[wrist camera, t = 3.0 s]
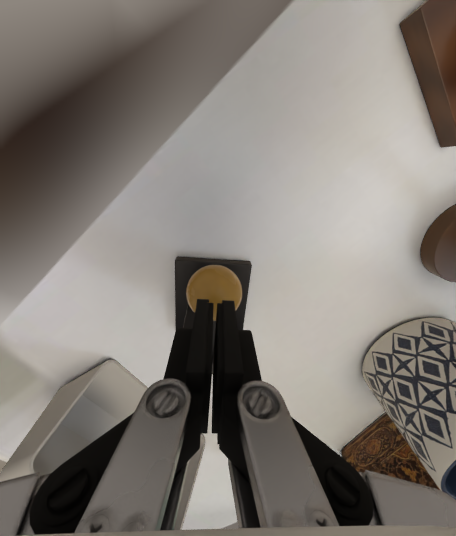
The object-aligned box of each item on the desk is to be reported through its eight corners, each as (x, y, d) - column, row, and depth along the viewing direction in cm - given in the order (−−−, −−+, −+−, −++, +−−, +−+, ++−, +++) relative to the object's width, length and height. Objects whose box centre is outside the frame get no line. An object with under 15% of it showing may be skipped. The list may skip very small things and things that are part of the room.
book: (398, 401, 40) (638, 711, 17) (419, 409, 41) (669, 709, 18) (339, 450, 46) (461, 735, 23) (359, 457, 47) (494, 732, 24)
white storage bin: (34, 398, 36) (-51, 506, 24) (109, 355, 33) (52, 454, 21) (141, 467, 45) (115, 568, 34) (207, 438, 42) (203, 538, 31)
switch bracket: (176, 256, 27) (149, 314, 16) (250, 261, 28) (271, 320, 17) (177, 329, 31) (156, 413, 21) (240, 332, 32) (252, 414, 21)
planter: (339, 374, 37) (408, 490, 23) (412, 299, 31) (554, 395, 18) (408, 401, 40) (501, 514, 27) (484, 337, 35) (647, 441, 22)
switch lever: (188, 251, 13) (181, 299, 11) (244, 255, 13) (248, 302, 11) (193, 343, 22) (189, 378, 20) (225, 344, 23) (224, 379, 21)
